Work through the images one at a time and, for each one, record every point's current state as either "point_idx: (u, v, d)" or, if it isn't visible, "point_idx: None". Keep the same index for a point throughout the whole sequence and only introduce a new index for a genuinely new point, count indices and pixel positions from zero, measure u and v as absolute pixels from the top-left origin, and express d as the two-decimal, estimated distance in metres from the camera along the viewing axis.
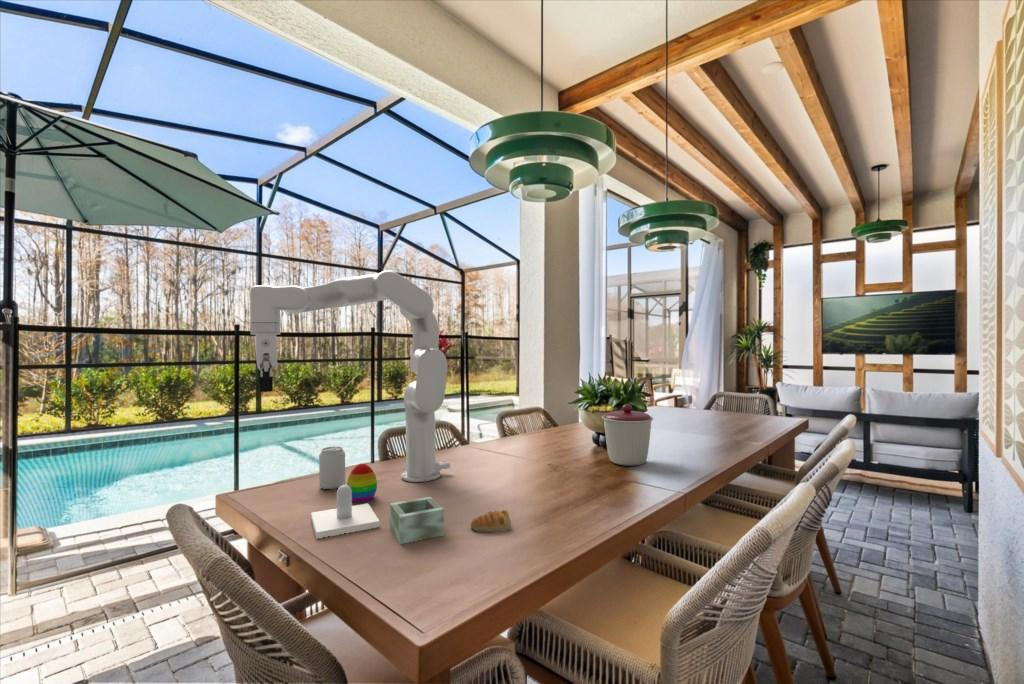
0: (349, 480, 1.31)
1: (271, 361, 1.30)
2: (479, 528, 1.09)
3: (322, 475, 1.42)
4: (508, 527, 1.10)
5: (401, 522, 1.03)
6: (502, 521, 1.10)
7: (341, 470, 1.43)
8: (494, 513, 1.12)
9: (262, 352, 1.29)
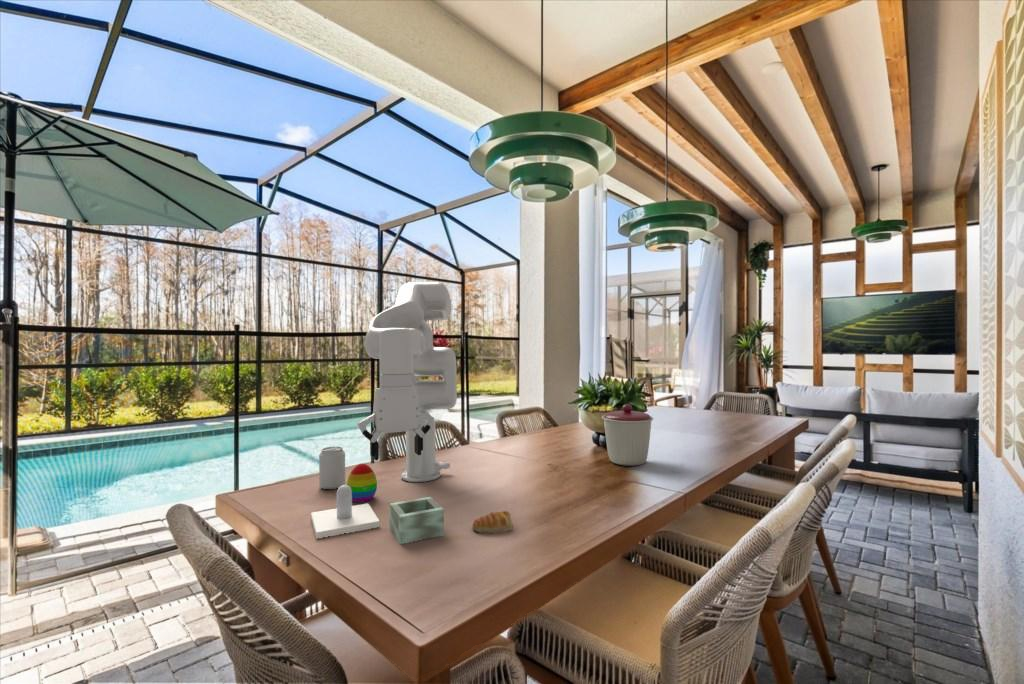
0: (349, 480, 1.31)
1: None
2: (481, 529, 1.09)
3: (322, 475, 1.42)
4: (510, 528, 1.10)
5: (401, 522, 1.03)
6: (504, 522, 1.10)
7: (341, 470, 1.43)
8: (496, 514, 1.12)
9: None
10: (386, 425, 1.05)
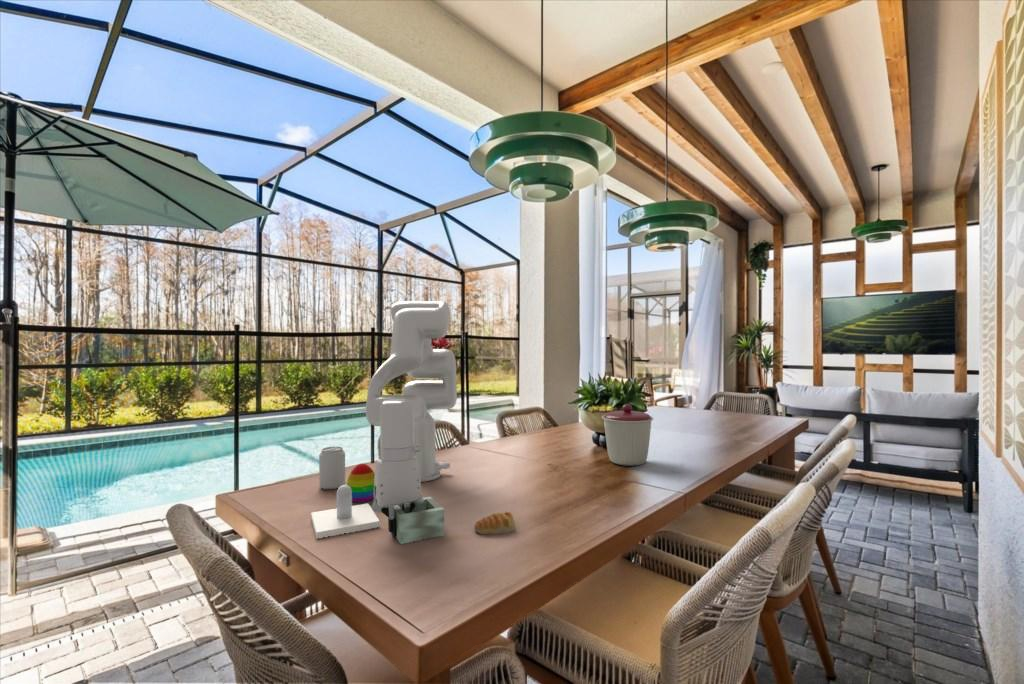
0: (349, 480, 1.31)
1: None
2: (483, 531, 1.08)
3: (322, 475, 1.42)
4: (513, 529, 1.09)
5: (401, 522, 1.03)
6: (506, 523, 1.09)
7: (341, 470, 1.43)
8: (498, 515, 1.11)
9: None
10: (387, 499, 1.05)
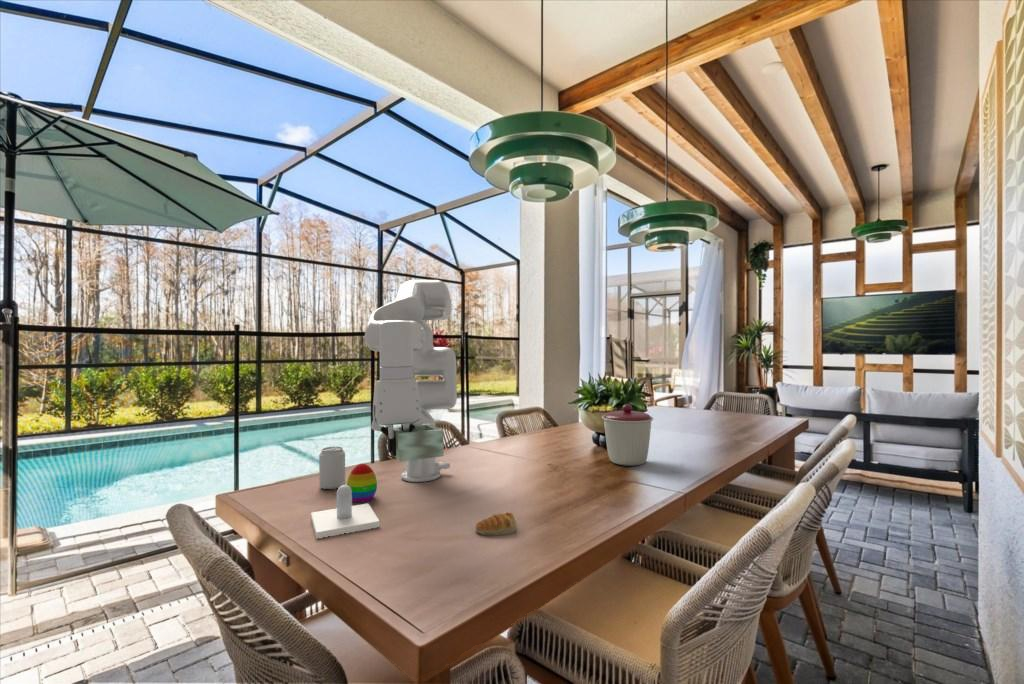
0: (349, 480, 1.31)
1: None
2: (485, 532, 1.07)
3: (322, 475, 1.42)
4: (514, 529, 1.09)
5: (400, 439, 1.03)
6: (508, 523, 1.09)
7: (341, 470, 1.43)
8: (499, 516, 1.11)
9: None
10: (386, 417, 1.05)
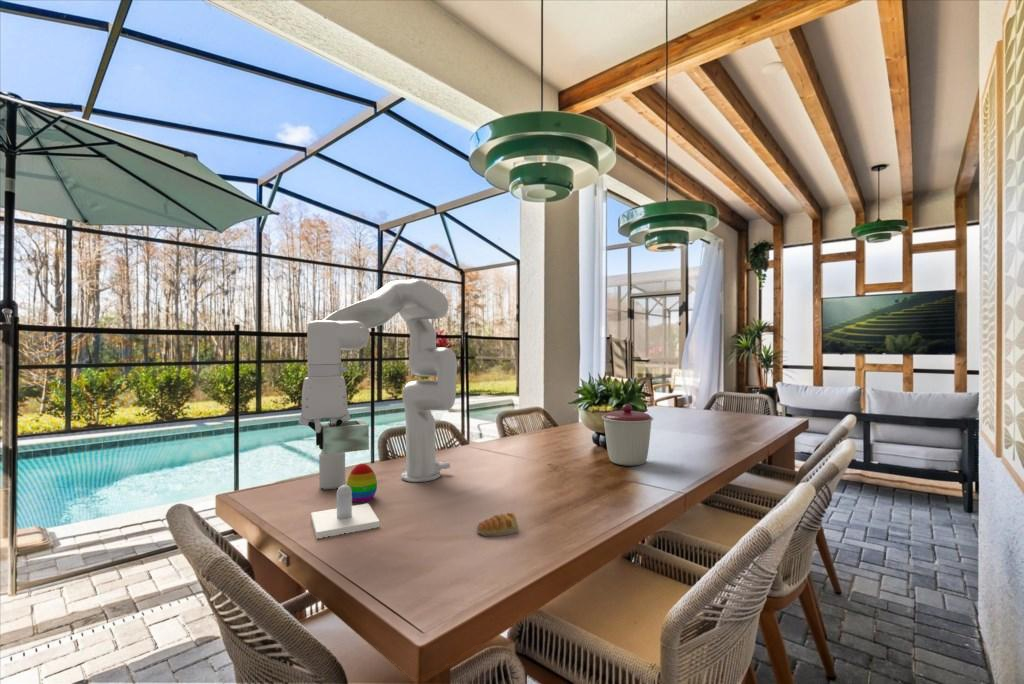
0: (349, 480, 1.31)
1: None
2: (486, 532, 1.07)
3: (322, 475, 1.42)
4: (516, 530, 1.09)
5: (325, 433, 1.09)
6: (509, 524, 1.08)
7: (341, 470, 1.43)
8: (500, 516, 1.10)
9: None
10: (313, 412, 1.11)
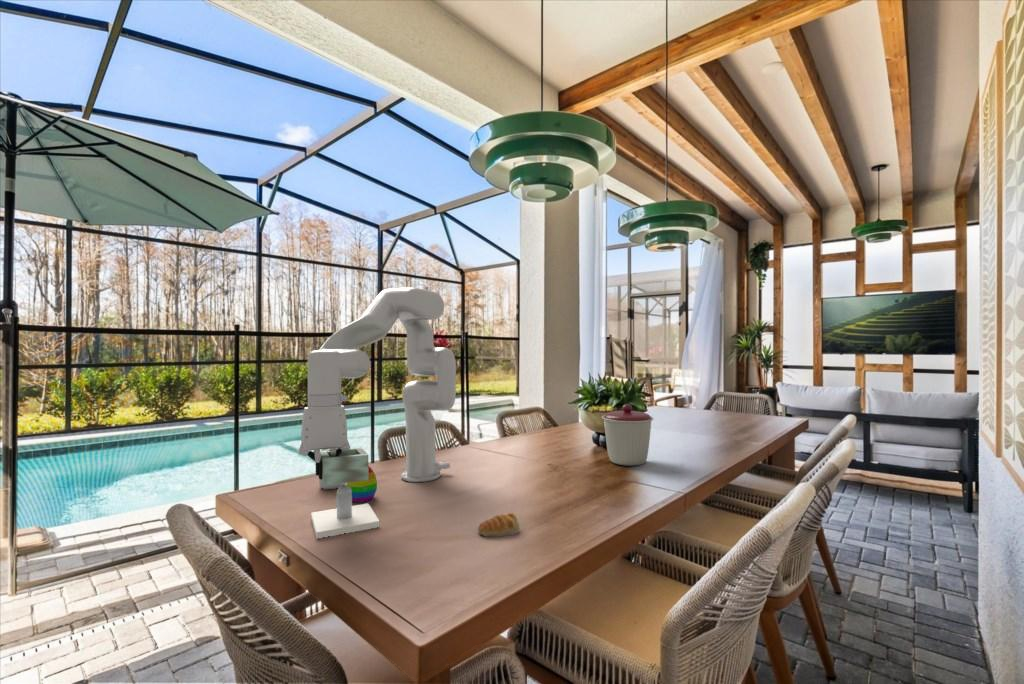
0: None
1: None
2: (488, 533, 1.07)
3: None
4: (517, 530, 1.09)
5: (325, 464, 1.09)
6: (511, 524, 1.08)
7: None
8: (502, 517, 1.10)
9: (346, 426, 1.15)
10: (312, 443, 1.11)
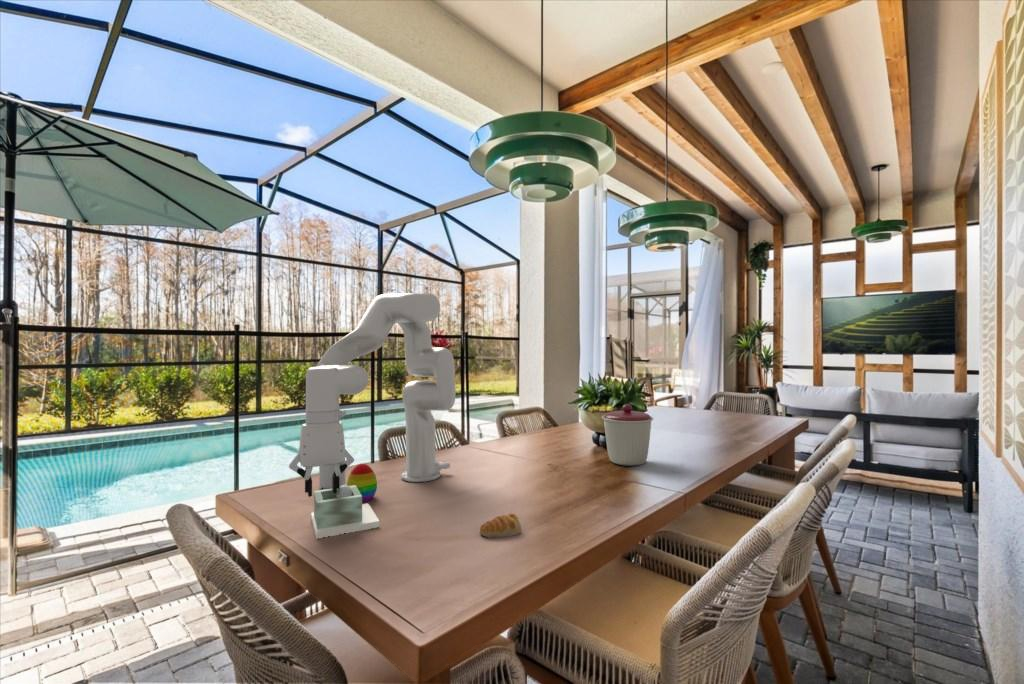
0: (349, 480, 1.31)
1: None
2: (490, 534, 1.06)
3: (322, 475, 1.42)
4: (519, 531, 1.08)
5: (318, 508, 1.08)
6: (513, 525, 1.08)
7: None
8: (503, 517, 1.10)
9: (344, 443, 1.15)
10: (310, 460, 1.10)
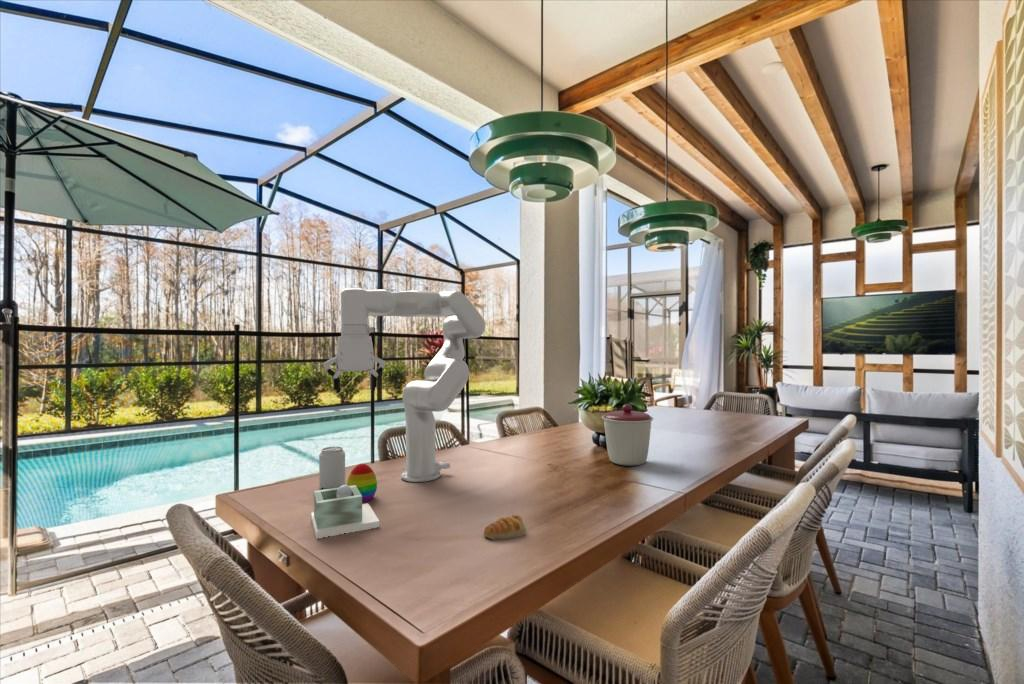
0: (349, 480, 1.31)
1: None
2: (495, 536, 1.05)
3: (322, 475, 1.42)
4: (523, 532, 1.07)
5: (318, 508, 1.08)
6: (518, 526, 1.07)
7: (341, 470, 1.43)
8: (507, 519, 1.09)
9: None
10: (346, 365, 1.32)
